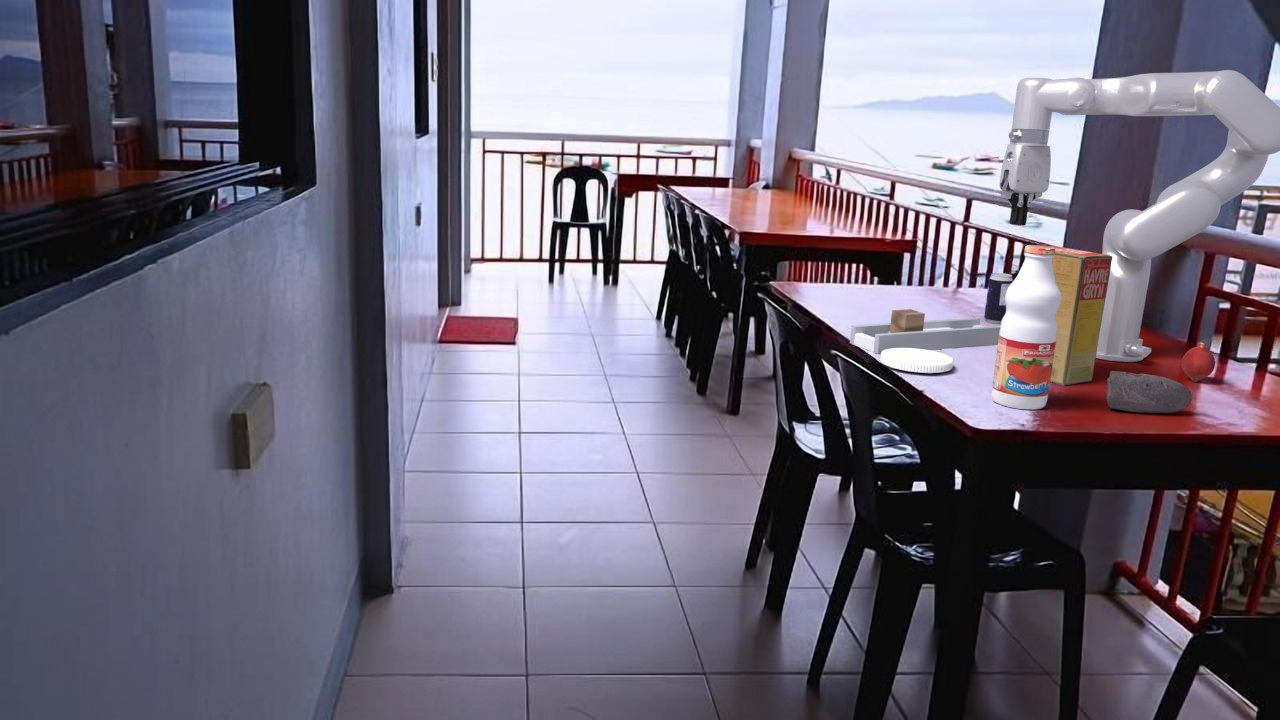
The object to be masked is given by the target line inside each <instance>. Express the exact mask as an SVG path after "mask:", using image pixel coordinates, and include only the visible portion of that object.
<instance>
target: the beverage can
mask: <svg viewBox="0 0 1280 720" xmlns="http://www.w3.org/2000/svg"><path fill="white" fill-rule="evenodd" d="M1013 281H1014V279H1013V275H1012V274H1009V273H1002V272H994V273H993V272H992V273H991V275H990V277H989V279H988V283H987V284H988V285H987V290H986V291H987V292H986V301H985V308H984V314H983V315H984V317H983V318H984V319H985V320H986V322H987V323H991V324H999V325H1001V322H1002V319H1003V317H1004V315H1005V313H1006V303H1005V295H1006V291H1007V289H1008V287H1009V286H1010V285H1011V283H1012V282H1013Z"/></svg>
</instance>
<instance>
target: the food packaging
mask: <svg viewBox="0 0 1280 720" xmlns="http://www.w3.org/2000/svg"><path fill="white" fill-rule="evenodd" d="M1048 247H1053V248H1055V255H1054V258H1053V259H1052V266H1053V271H1054V276H1055V280H1056V283H1057V286H1058V288H1059V290H1060V292H1061V305H1060V307H1059V310H1058V312H1057V314H1056V321H1057V325H1058V330H1057V340H1056V346H1055V352H1054V359H1053V366H1052V372H1051V379H1050V383H1052V382H1053V384H1056V385H1060V386H1062V387H1063V386H1071V385H1075V384H1082V383H1083V384H1084V383H1087V382H1092V381H1093V377H1094V376H1093V375H1094V369H1095V362H1096V359H1097V358H1096V352H1097V346H1098V340H1099V333H1100V327H1101V322H1102V316H1103V310H1104V304H1105V299H1106V293H1107V288H1108V282H1109V276H1110V270H1111V263H1112V259H1113V256H1112V255H1105V254H1102V253H1097V252H1092V251H1087V250H1082V249H1081V250H1079V249H1075V248H1067V247H1062V246H1058V245H1057V246H1056V245H1053V246H1052V245H1049V246H1048Z"/></svg>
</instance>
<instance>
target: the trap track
mask: <svg viewBox="0 0 1280 720" xmlns="http://www.w3.org/2000/svg"><path fill="white" fill-rule="evenodd" d="M980 323H981V318H978V317H967V318H966V317H965V318H952V319H951V318H950V319H948V318H947V319H934V320H924V327H923V331H913V332H898V333H891V332H890V324H891V322H889V323H888V322H885V323H872V324H871V323H870V324H858V325H857V324H854V325H851V328H850V339H849V344H850V345H854V346H856V347H859V348H862V349H863V350H866V351H869V352H872V353H874V354H877V355H881V352H882V351H884V350H887V349H891V348H892V349H893V348H914V349H923V350H930V351H936V350H945V349H946V350H947V349H958V348H959V349H960V348H969V347H972V348H973V347H982V346H984V347H985V346H998V340H999V332H1000V326H1001V325H988V326H983V325H980Z"/></svg>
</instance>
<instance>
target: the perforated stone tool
mask: <svg viewBox="0 0 1280 720" xmlns="http://www.w3.org/2000/svg"><path fill="white" fill-rule="evenodd" d="M1105 392H1106V401H1107V404H1108V407H1109V408H1110V409H1113V410H1118V411H1123V412H1130V413H1140V414H1141V413H1142V414H1143V413H1144V414H1172V413H1177V412H1181V411H1183V410H1185V409H1187V408H1188V407H1189V406H1190V405H1191V402H1192V400H1193V399H1192V398H1193V394H1192V390H1190V389H1189V388H1188V387H1187V386H1185V385H1184V384H1183V383H1181V382H1178V381H1176V380H1173V379H1171V378H1167V377H1163V376H1160V375H1154V374H1152V375H1151V374H1147V373H1138V374H1137V373H1133V372H1129V371H1128V372H1127V371H1119V370H1111V371H1110V373H1109V377H1108V378H1107V379H1106V389H1105Z"/></svg>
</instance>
